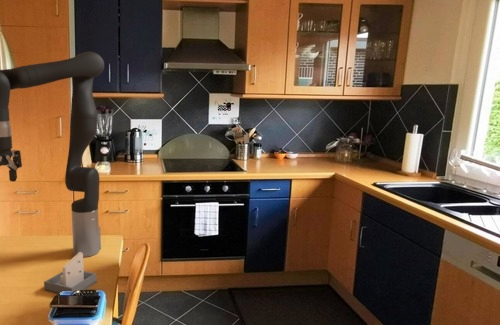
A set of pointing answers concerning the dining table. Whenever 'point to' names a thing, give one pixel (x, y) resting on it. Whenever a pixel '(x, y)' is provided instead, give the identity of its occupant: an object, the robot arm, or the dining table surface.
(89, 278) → the gray square tray
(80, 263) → the white angled block
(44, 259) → the dining table surface
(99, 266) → the dining table surface
